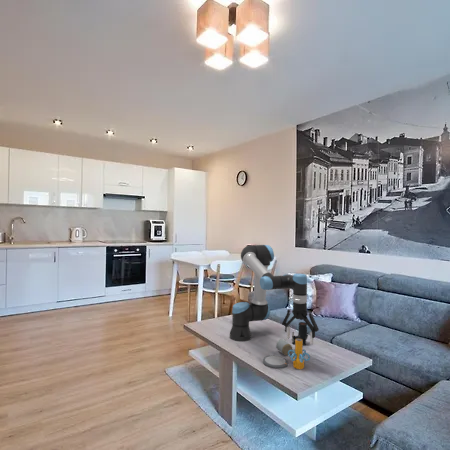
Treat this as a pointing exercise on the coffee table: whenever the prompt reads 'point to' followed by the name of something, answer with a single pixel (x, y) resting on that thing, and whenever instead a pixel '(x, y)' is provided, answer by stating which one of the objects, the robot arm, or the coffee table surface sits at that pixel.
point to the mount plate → (275, 361)
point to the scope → (301, 333)
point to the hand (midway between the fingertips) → (299, 340)
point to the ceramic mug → (284, 347)
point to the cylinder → (298, 355)
